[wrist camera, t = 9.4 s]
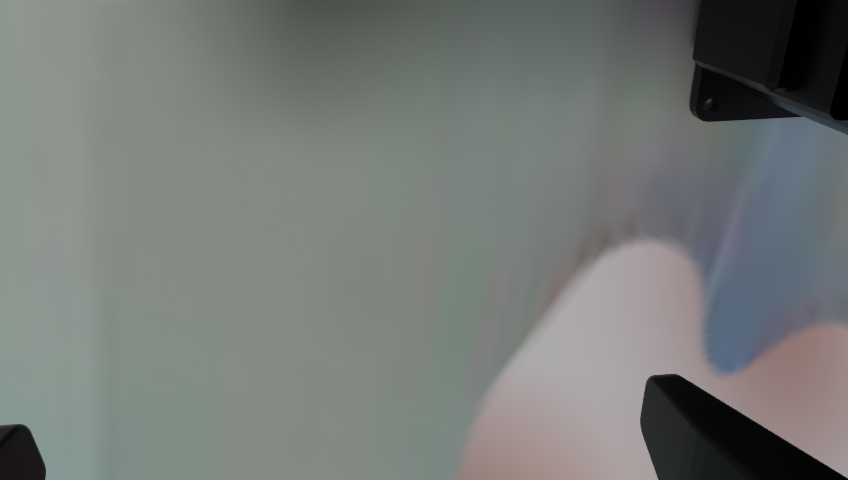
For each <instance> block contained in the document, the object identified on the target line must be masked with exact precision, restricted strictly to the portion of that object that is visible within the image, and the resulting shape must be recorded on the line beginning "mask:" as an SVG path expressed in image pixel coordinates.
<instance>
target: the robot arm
mask: <svg viewBox="0 0 848 480" xmlns="http://www.w3.org/2000/svg"><path fill="white" fill-rule="evenodd" d="M693 59H694V60H695V62H696V63H697V64H696V70H695V76H694V82H693V88H692V95H691V101H690V111H691V113H692V115H694V116H695V117H697V118H698V119H700V120H702V121H707V122H712V121H731V120H749V119H768V118H786V117H805V118H808V119H810V120H813V121H815V122H818V123H820V124H823V125H825V126H827V127H830V128H832V129H835V130H837V131H840V132H842V133H845V134H847V135H848V0H702V2H701V8H700V14H699V21H698V27H697V33H696V39H695V46H694V52H693ZM711 98H712V101H713V103H712V106H711V107H710V108H709V109H708V110H706V111H703V106H704V104H705V102H706V101H707V100H708V99H711ZM640 424H641V430H642V434H643V437H644V440H645V443H646V446H647V449H648V451H649V454H650V457H651V460H652V463H653V466H654V468H655V471H656V474H657V477H658V479H659V480H848V478H846V477H844V476H843V475H841V474H840V473H838V472H836V471H835V470H833V469H831V468H830V467H828V466H826V465H825V464H823V463H822V462H820V461H818V460H817V459H815V458H813V457H812V456H810V455H809V454H807V453H805V452H804V451H802V450H800V449H799V448H797V447H795V446H794V445H792V444H791V443H789V442H787V441H786V440H784V439H782V438H781V437H779V436H777V435H776V434H774V433H773V432H771V431H769V430H768V429H766V428H764V427H763V426H761V425H760V424H758V423H756V422H755V421H753V420H751V419H750V418H748V417H746V416H745V415H743V414H742V413H740V412H738V411H737V410H735V409H733V408H732V407H730V406H729V405H727V404H725V403H724V402H722V401H720V400H719V399H717V398H715V397H714V396H712V395H711V394H709V393H707V392H706V391H704V390H702V389H701V388H699V387H698V386H696V385H694V384H693V383H691V382H689V381H688V380H686V379H684V378H683V377H681V376H679V375H677V374H665V375H653V376H651V377H649V378H648V380H647V382H646V387H645V392H644V398H643V405H642V411H641V418H640ZM45 478H46V469H45V464H44V461H43V459H42V457H41V454H40V452H39V450H38V447H37V445H36V443H35V440H34V438H33V436H32V433H31V431H30V429H29V428H28V427H27V426H25V425H22V424H12V425H0V480H45Z"/></svg>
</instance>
